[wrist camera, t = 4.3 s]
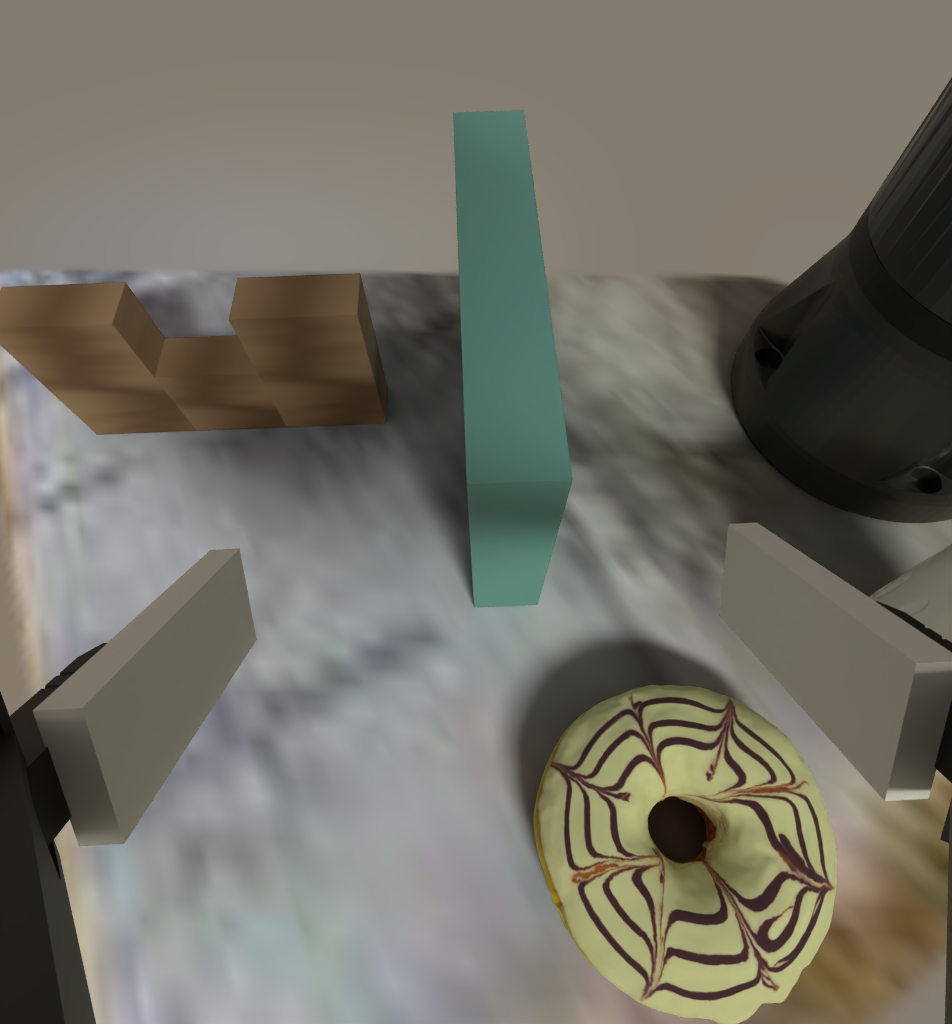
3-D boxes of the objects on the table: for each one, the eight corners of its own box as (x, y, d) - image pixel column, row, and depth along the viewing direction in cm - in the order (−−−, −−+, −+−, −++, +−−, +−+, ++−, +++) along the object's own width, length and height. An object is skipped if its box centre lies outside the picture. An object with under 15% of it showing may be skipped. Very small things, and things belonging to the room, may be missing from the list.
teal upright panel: (537, 604, 27) (572, 479, 16) (474, 607, 27) (466, 484, 16) (511, 320, 35) (523, 110, 24) (462, 322, 35) (453, 112, 24)
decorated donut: (858, 922, 22) (929, 947, 18) (601, 1047, 20) (625, 1100, 17) (716, 660, 26) (752, 640, 22) (496, 746, 24) (499, 740, 21)
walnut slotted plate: (387, 387, 33) (359, 273, 26) (385, 423, 32) (357, 314, 24) (108, 398, 33) (2, 286, 25) (97, 434, 31) (-17, 329, 24)
